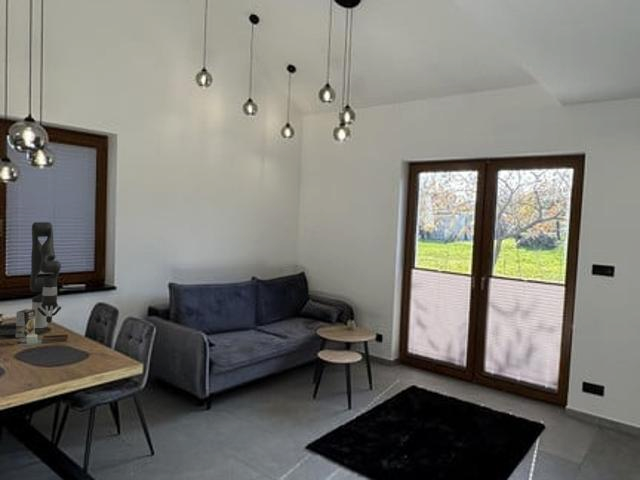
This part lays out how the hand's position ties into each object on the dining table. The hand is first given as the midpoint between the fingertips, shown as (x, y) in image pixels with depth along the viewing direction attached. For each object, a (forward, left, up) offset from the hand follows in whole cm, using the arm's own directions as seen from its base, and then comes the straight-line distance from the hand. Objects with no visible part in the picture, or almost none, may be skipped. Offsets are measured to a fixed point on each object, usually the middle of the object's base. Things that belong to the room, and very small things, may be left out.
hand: (49, 322), depth 273 cm
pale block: (+1, -8, -11) cm, 14 cm away
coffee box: (-17, -14, -12) cm, 25 cm away
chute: (0, +3, -12) cm, 12 cm away
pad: (0, -9, -12) cm, 15 cm away
